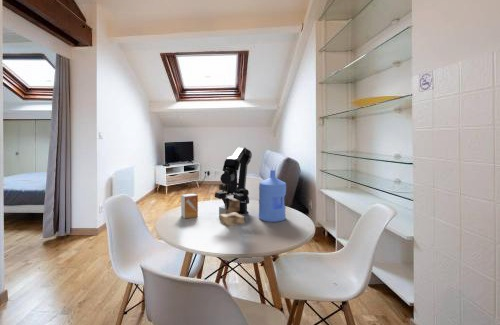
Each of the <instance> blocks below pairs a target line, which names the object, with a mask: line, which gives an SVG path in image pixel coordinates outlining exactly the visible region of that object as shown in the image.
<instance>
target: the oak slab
mask: <svg viewBox="0 0 500 325" xmlns="http://www.w3.org/2000/svg"><path fill="white" fill-rule="evenodd" d="M219 222H221V223H223V224H224V225H225V226H226V227H230V226H235V225H241V224H245V216H244V215H243V214H239V213H237V212H232V213H226V214H220V217H219Z"/></svg>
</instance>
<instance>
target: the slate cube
mask: <svg viewBox="0 0 500 325" xmlns="http://www.w3.org/2000/svg"><path fill="white" fill-rule="evenodd" d="M226 213H229V212H227V211H225V204H224V205H221V206H218V217H219V218H220V214H226Z"/></svg>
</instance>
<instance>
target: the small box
mask: <svg viewBox="0 0 500 325" xmlns="http://www.w3.org/2000/svg"><path fill="white" fill-rule="evenodd" d="M198 199H199V197H198V194H196V193H186V194H181V195H180V203H181V204H180V206H181V207H180V208H181V209H180V210H181V212H180V213H181V214H180V216H181V217H182V218H184V219H191V218H198V217H199V216H198V215H199V213H198V210H199V204H198V202H199V200H198Z"/></svg>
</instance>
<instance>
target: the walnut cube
mask: <svg viewBox="0 0 500 325" xmlns="http://www.w3.org/2000/svg"><path fill="white" fill-rule="evenodd" d="M225 211H227V212H229V213H232V212H238V211H240V200H237V199H235V198H233V197H232V198H229V204H228V210H226V207H225Z"/></svg>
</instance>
